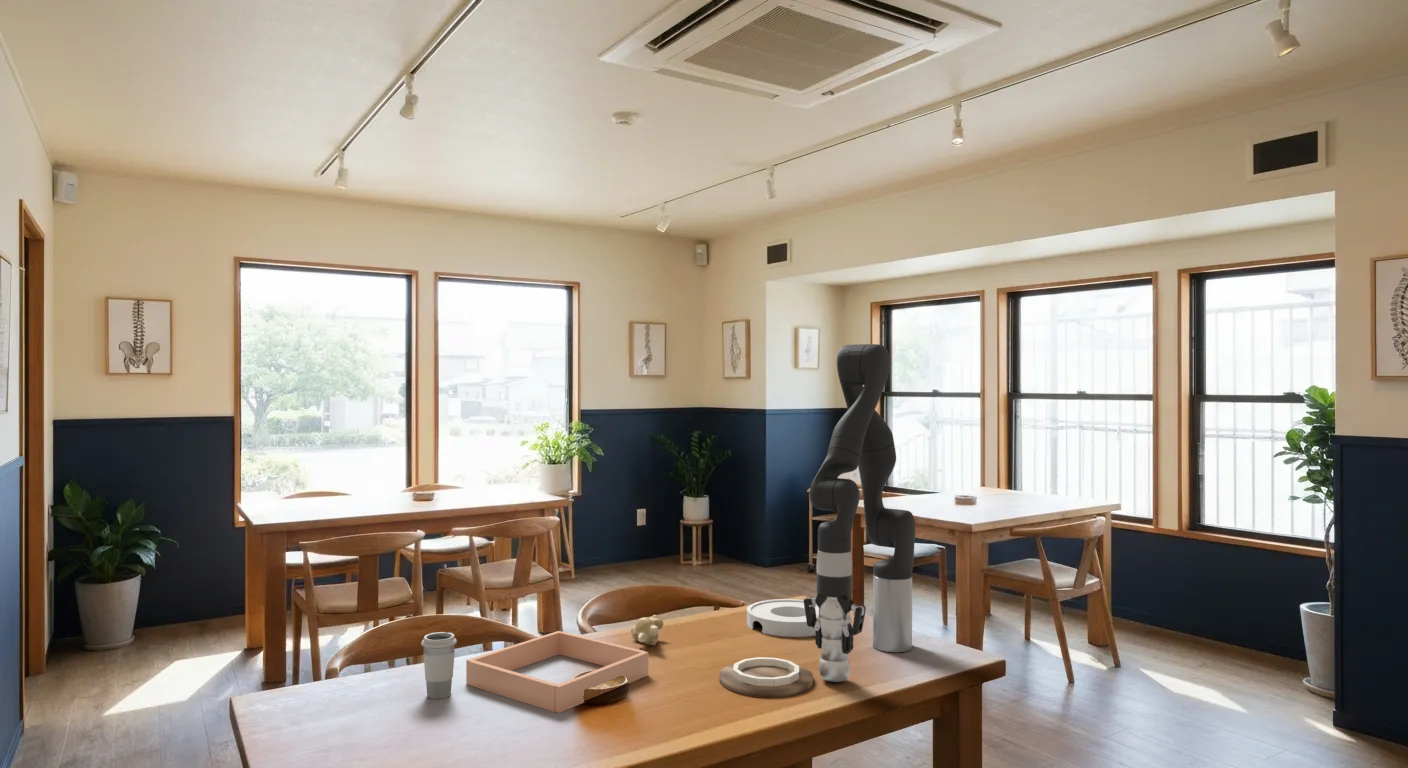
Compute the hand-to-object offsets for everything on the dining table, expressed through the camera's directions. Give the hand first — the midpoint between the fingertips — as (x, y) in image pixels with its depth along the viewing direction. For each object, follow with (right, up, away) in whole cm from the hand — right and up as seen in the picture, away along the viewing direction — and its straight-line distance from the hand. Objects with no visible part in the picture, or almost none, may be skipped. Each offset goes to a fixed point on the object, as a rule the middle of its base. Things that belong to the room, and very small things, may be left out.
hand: (834, 649), depth 191 cm
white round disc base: (-5, -7, +44) cm, 45 cm away
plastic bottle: (0, -7, 0) cm, 7 cm away
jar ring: (-14, -5, +1) cm, 15 cm away
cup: (-82, -7, -9) cm, 82 cm away
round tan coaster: (-14, -7, +1) cm, 16 cm away
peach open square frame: (-59, -7, +1) cm, 59 cm away
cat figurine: (-42, -7, +26) cm, 49 cm away
